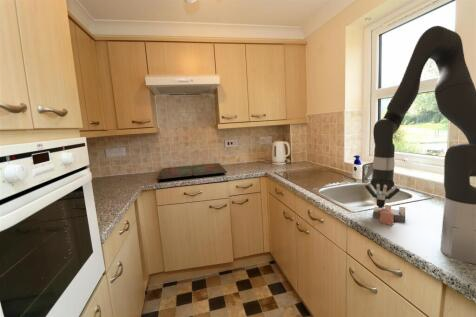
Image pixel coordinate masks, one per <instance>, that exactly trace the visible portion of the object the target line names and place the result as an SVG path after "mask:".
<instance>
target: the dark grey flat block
mask: <svg viewBox="0 0 476 317" xmlns="http://www.w3.org/2000/svg"><path fill="white" fill-rule="evenodd" d="M381 209H385V207H382V208H378V206H374V208H373V211H372V218H377V219H380V211H381ZM391 210H394V219H393V222H394V221H395V222H402V223H406V212H405V213H400V212H399V209H393V208H391Z"/></svg>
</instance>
